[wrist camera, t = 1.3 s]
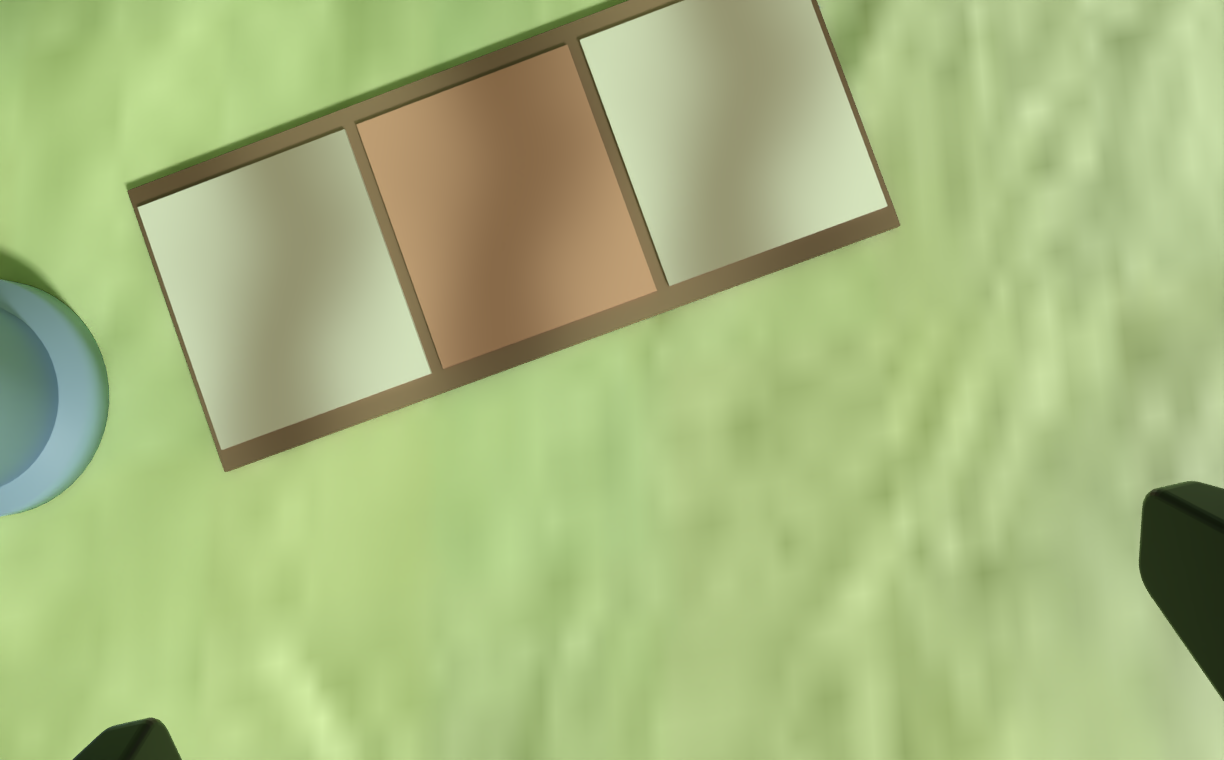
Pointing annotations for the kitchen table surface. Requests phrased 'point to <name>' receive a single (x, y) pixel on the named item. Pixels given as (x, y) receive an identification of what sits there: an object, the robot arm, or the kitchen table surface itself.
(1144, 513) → the robot arm
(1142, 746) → the kitchen table surface
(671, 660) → the kitchen table surface
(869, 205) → the board
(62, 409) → the pawn
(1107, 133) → the kitchen table surface
